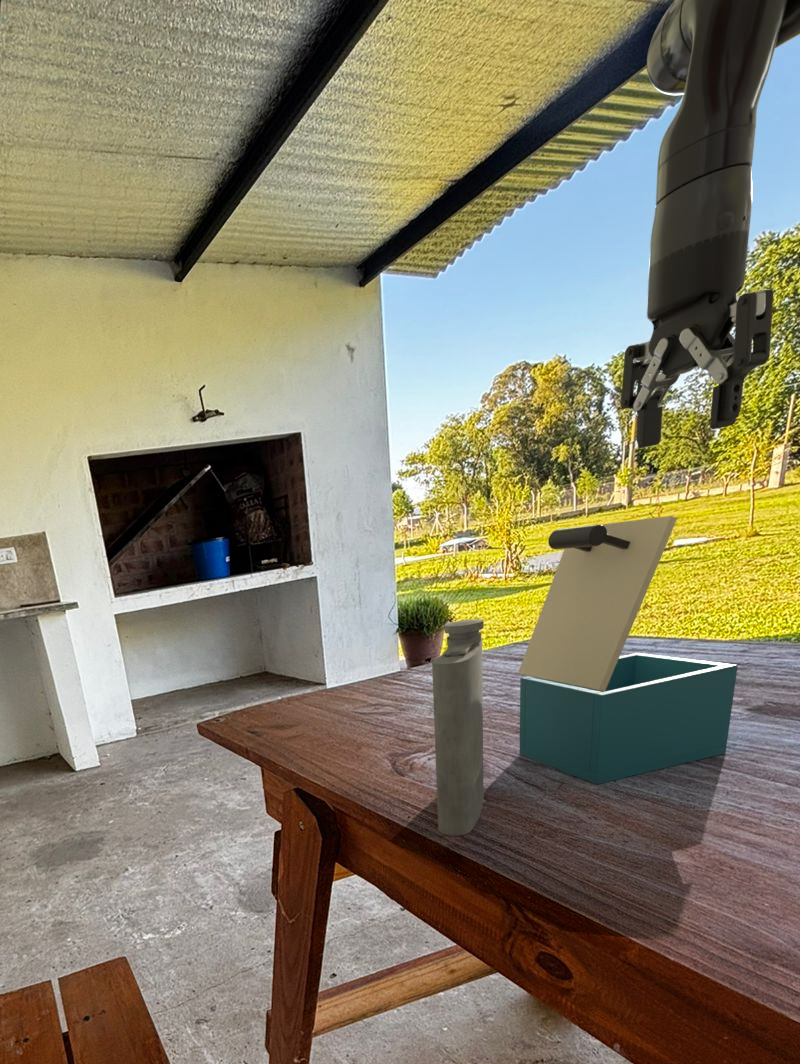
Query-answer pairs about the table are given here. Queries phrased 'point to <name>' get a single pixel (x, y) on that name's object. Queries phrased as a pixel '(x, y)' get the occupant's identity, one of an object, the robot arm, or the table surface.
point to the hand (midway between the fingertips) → (683, 437)
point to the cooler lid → (594, 599)
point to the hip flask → (459, 728)
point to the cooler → (629, 718)
